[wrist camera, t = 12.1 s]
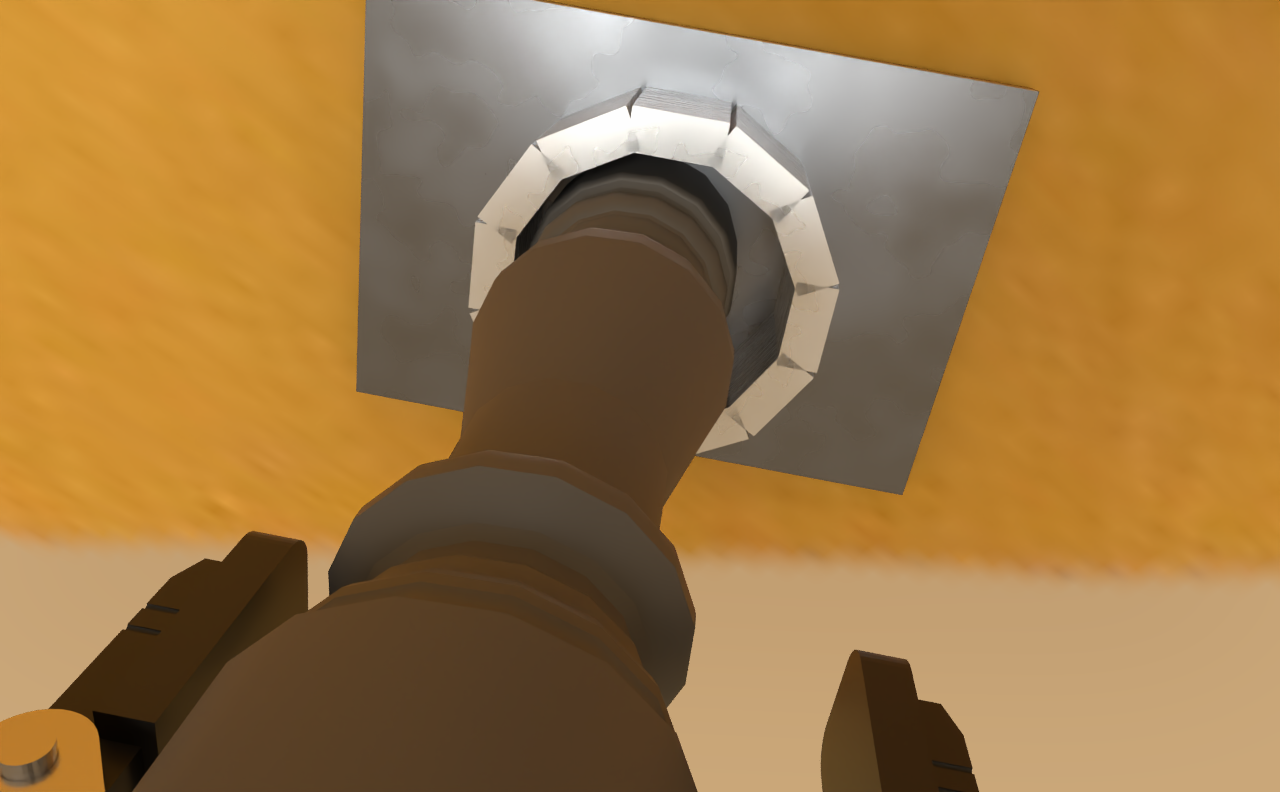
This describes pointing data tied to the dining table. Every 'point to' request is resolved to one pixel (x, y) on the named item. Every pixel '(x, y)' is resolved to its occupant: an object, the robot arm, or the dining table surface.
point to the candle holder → (514, 539)
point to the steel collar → (736, 166)
